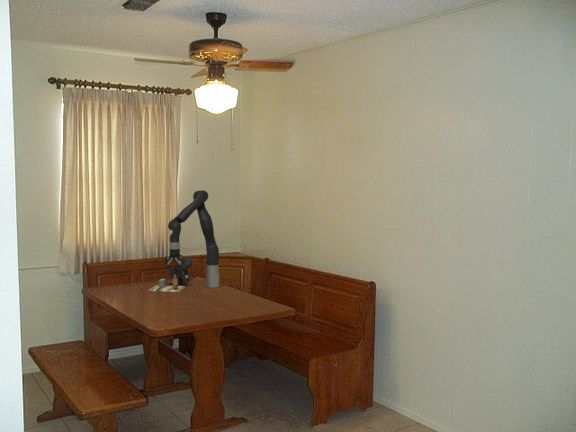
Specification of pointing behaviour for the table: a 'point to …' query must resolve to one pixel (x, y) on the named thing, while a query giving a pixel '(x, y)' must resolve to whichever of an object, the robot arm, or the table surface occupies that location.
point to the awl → (174, 283)
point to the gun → (178, 272)
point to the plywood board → (167, 288)
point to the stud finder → (162, 283)
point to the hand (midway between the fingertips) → (174, 269)
